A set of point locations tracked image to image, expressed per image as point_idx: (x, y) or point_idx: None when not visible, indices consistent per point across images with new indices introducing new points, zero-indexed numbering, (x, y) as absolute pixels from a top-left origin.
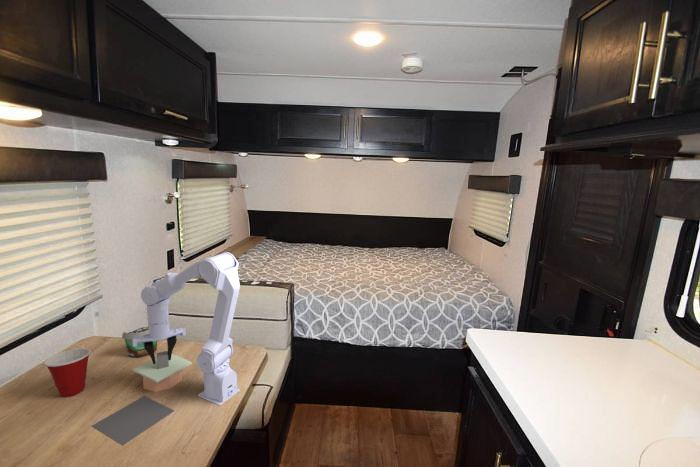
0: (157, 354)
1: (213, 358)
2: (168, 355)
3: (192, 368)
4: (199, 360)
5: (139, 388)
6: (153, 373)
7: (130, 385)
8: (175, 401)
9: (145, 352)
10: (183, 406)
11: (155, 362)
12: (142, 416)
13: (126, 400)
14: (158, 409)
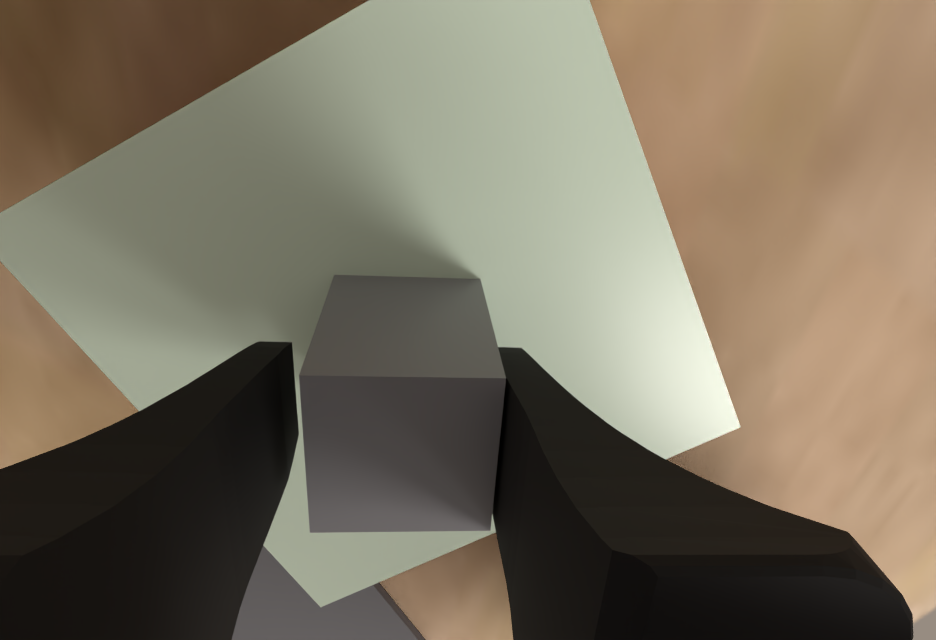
0: (312, 436)
1: None
2: (494, 519)
3: (723, 159)
4: None
5: None
6: None
7: (74, 132)
8: (458, 568)
9: None
10: (494, 632)
11: (292, 461)
12: (245, 629)
13: (95, 384)
14: (343, 615)
